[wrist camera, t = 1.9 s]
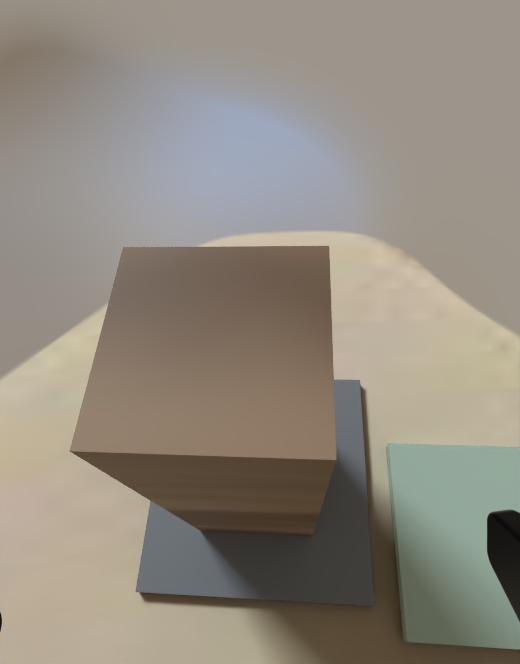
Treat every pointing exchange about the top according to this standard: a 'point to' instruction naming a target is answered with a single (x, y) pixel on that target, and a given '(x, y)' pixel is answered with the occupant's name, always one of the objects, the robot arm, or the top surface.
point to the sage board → (451, 541)
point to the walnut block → (217, 385)
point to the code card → (277, 540)
